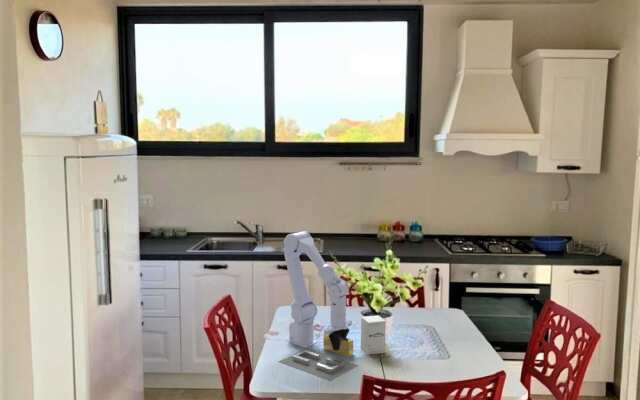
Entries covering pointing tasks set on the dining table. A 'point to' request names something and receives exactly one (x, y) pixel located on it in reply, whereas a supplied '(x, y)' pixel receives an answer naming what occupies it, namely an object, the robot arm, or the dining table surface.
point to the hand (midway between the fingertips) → (338, 348)
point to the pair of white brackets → (335, 363)
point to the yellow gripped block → (340, 346)
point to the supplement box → (373, 334)
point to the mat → (312, 366)
